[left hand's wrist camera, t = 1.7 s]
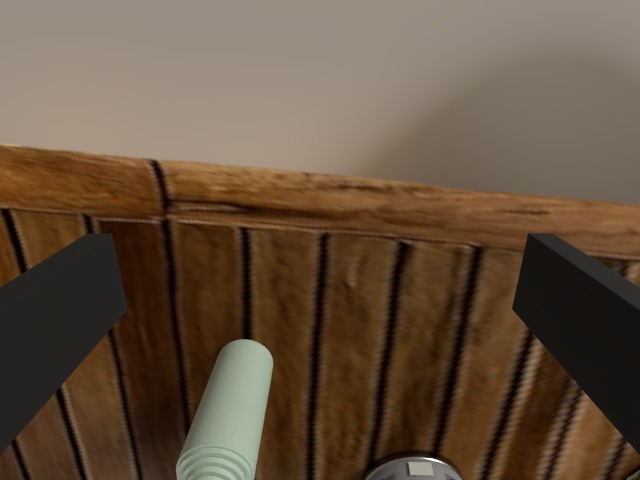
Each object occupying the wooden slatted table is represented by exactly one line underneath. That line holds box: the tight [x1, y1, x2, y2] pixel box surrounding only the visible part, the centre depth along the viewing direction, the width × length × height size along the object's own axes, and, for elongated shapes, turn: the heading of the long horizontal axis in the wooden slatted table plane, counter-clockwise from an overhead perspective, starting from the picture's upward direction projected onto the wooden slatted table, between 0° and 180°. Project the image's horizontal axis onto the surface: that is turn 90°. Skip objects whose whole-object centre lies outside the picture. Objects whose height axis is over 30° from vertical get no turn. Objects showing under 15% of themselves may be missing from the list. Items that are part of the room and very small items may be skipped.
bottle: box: [176, 339, 273, 480], centre depth 39 cm, size 7×7×20 cm
